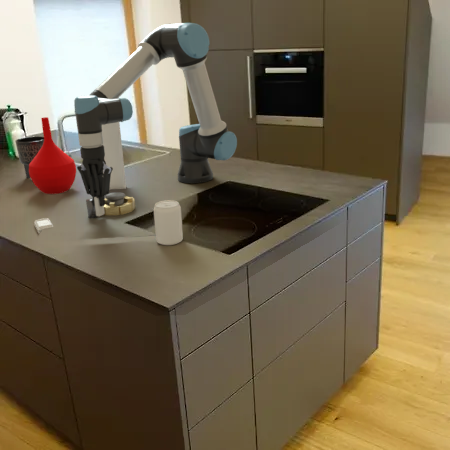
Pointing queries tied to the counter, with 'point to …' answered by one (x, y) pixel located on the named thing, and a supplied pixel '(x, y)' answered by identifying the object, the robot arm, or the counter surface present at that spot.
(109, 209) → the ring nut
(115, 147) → the cylinder container
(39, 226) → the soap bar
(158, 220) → the beverage can
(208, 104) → the robot arm
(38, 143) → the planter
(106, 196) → the grey flat cylinder
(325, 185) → the counter surface
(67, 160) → the vase
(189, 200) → the counter surface
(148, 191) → the counter surface
